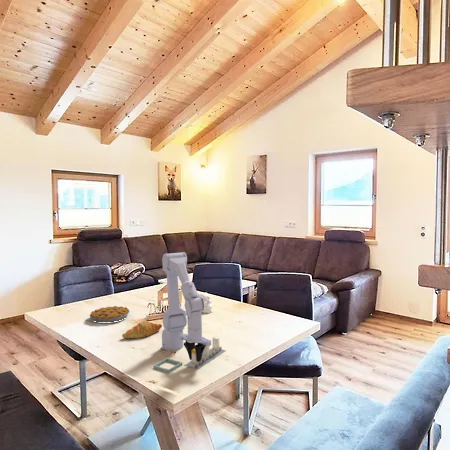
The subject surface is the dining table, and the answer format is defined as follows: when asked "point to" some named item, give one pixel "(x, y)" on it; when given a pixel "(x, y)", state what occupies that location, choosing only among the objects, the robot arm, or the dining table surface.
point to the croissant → (142, 330)
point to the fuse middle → (206, 352)
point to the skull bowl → (206, 303)
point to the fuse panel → (204, 360)
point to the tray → (165, 368)
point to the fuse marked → (194, 357)
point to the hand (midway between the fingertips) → (195, 359)
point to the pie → (109, 314)
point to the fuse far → (216, 344)
